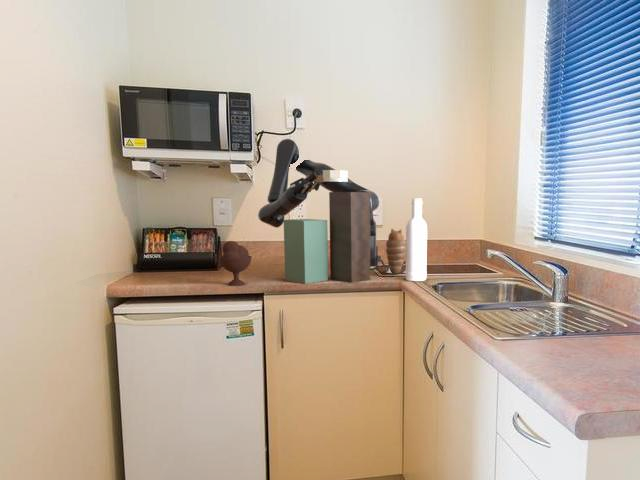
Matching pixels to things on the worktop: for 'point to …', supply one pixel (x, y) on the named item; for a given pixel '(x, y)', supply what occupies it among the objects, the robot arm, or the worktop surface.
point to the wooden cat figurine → (395, 250)
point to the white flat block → (332, 176)
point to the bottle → (416, 244)
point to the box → (306, 250)
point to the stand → (349, 236)
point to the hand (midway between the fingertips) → (318, 174)
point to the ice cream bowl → (235, 260)
